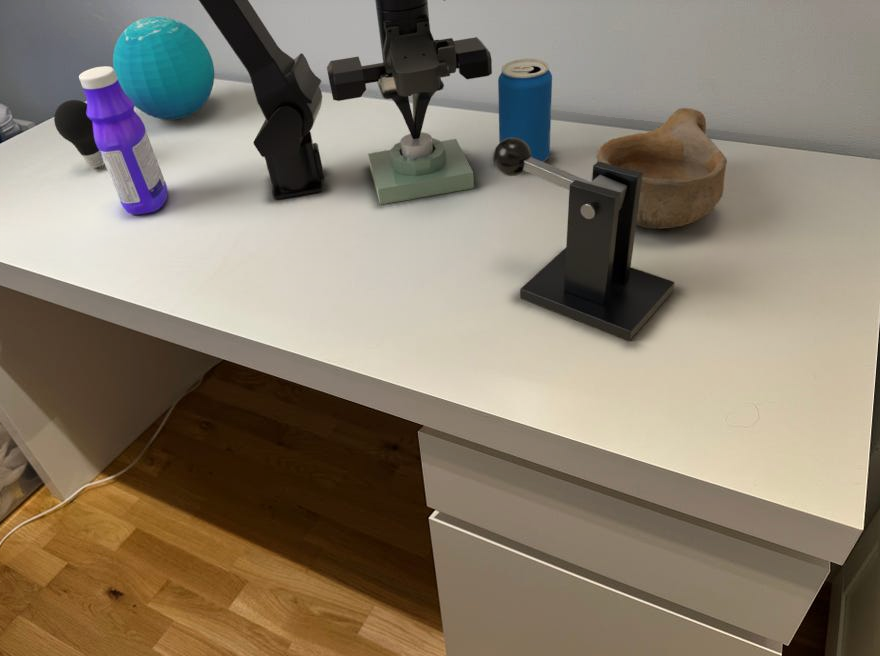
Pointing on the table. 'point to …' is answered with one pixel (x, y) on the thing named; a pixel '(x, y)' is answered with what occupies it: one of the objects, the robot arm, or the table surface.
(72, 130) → the light bulb
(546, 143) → the beverage can
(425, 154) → the flush button
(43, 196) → the table surface
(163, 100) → the decorative orb
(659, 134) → the bowl
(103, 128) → the bottle
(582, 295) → the lever bracket
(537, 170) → the ball knob lever
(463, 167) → the button block
